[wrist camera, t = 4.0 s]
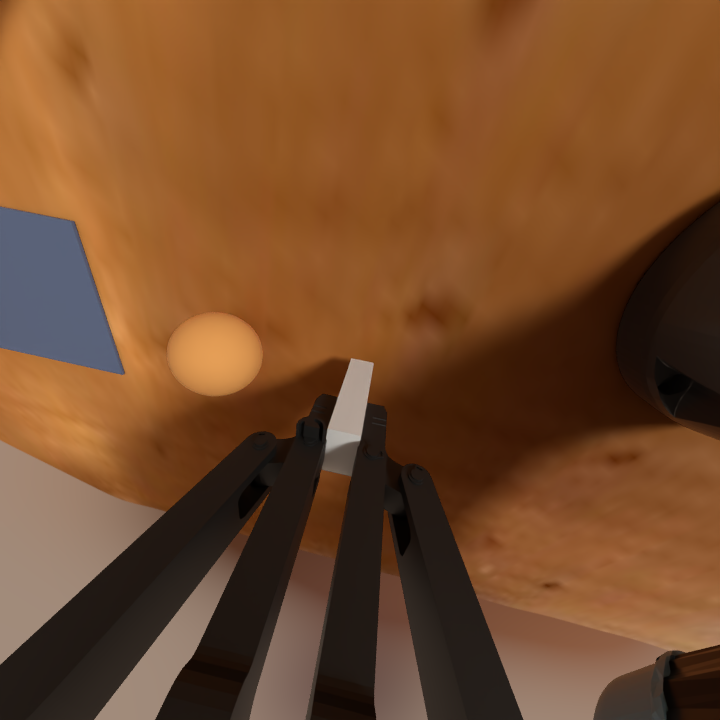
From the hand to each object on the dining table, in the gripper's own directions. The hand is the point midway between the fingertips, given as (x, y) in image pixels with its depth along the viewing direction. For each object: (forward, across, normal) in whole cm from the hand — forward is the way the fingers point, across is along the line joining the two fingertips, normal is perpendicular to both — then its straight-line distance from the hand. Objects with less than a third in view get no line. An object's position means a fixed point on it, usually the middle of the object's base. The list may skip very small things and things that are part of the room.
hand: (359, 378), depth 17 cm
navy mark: (+2, +26, 0) cm, 26 cm away
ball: (-1, +9, 0) cm, 9 cm away
